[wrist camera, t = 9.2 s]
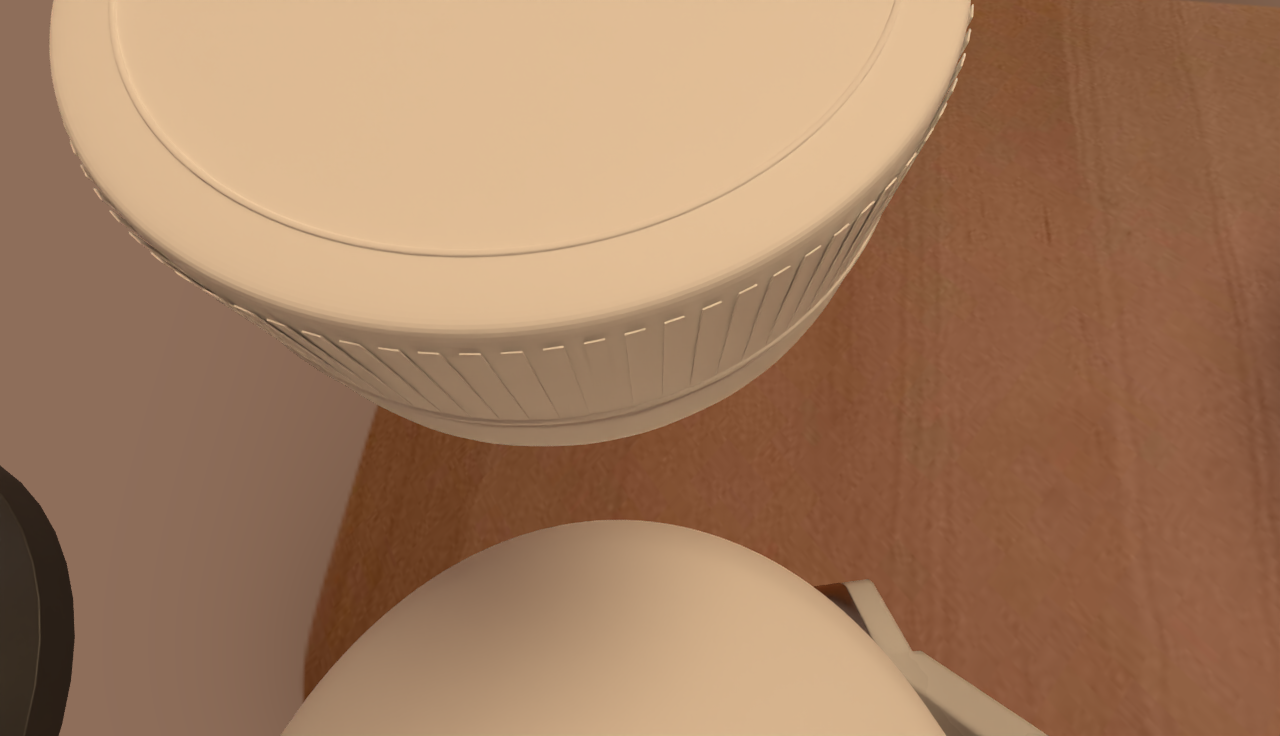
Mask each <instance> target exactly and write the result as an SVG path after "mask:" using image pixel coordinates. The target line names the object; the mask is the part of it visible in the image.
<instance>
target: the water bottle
mask: <svg viewBox="0 0 1280 736" xmlns="http://www.w3.org/2000/svg"><path fill="white" fill-rule="evenodd" d="M970 4H971V0H54V1H53V6H52V13H51V23H50V38H49V40H50V41H49V45H50V47H49V50H50V66H51V74H52V81H53V86H54V91H55V96H56V99H57V103H58V107H59V110H60V114H61V117H62V120H63V123H64V126H65V130H66V131H67V133H68V136H69V138H70V140H71V141H70V144H71V146H72V149H73V151H74V154H75V155H77V156H78V157H79V158H80V160H81V162H82V163H83V165H84V166H83V165H82V164H81V165H80V167H81V168H82V170H83V172H84V174H85V176H86V177H87V178H88V179H89V180H91V181H92V182H94V183H95V184H96V185H97V186H98V188H99V189H100V190H101V192H100V191H99V190H98V189H96V188H93V189H94V191H95V192H96V194H97V195H98V197H99V198H100V200H102V201H103V202H104V203H106V204H107V205H109V206H110V207H112V208H113V209H114V210H116V211H117V212H118V213H119V214H120V215H121V216H122V217H123V218H124V219H123V218H122V217H120V216H119V215H117V214H116V213H114V212H113V211H112V210H110V213H111V214H112V215H113V216H114V217H115V218H116V220H117V221H118V222H119V223H120V224H122V225H124V226H125V227H126V228H128V229H129V230H131V231H133V232H134V233H135V234H137V235H138V236H140V237H141V238H143V239H144V240H146V241H148V242H149V243H150V244H151V245H152V246H153V247H152V246H151V245H149V244H148V243H146V242H145V241H143V240H142V239H140V238H139V237H137V236H136V235H134V234H133V233H131V232H128V233H129V234H130V235H131V236H132V237H133V238H134V239H135V240H136V241H137V242H138V243H140V244H141V245H142V246H144V247H146V248H147V249H148V250H150V251H151V254H152V255H153V256H154V257H156V258H157V259H158V260H159V261H161V262H162V263H163V264H165V265H166V266H168V267H169V268H171V269H172V270H174V271H175V272H176V273H177V274H178V275H180V276H181V277H183V278H184V279H186V280H187V281H189V282H190V283H192V284H193V285H195V286H196V287H198V288H199V289H201V290H203V291H204V292H206V293H207V294H209V295H210V296H212V297H213V298H215V299H216V300H218V301H220V302H221V303H222V304H224V305H226V306H227V307H229V308H230V309H232V310H233V311H235V312H236V313H238V314H239V315H241V316H243V317H244V318H245V319H247V320H249V321H250V322H252V323H253V324H255V325H256V326H258V327H259V328H261V329H262V330H264V331H265V332H267V333H268V334H270V335H271V336H273V337H275V338H276V339H278V340H279V341H280V342H281V343H282V344H284V345H285V346H286V347H287V348H288V349H290V350H291V351H292V352H294V353H295V354H296V355H297V356H299V357H300V358H301V359H303V360H304V361H306V362H307V363H309V364H310V365H312V366H313V367H315V368H316V369H318V370H319V371H321V372H322V373H324V374H326V375H328V376H329V377H331V378H333V379H335V380H336V381H338V382H340V383H342V384H344V385H345V386H347V387H348V388H350V389H352V390H353V391H355V392H356V393H358V394H360V395H362V396H363V397H365V398H367V399H368V400H370V401H372V402H373V403H375V404H377V405H379V406H381V407H383V408H385V409H387V410H389V411H391V412H393V413H395V414H397V415H399V416H402V417H404V418H406V419H408V420H411V421H413V422H415V423H418V424H420V425H423V426H425V427H428V428H431V429H434V430H437V431H440V432H443V433H446V434H450V435H454V436H458V437H463V438H467V439H472V440H477V441H482V442H488V443H494V444H503V445H516V446H569V445H582V444H591V443H598V442H604V441H609V440H614V439H619V438H624V437H628V436H633V435H637V434H640V433H644V432H648V431H651V430H654V429H657V428H660V427H663V426H665V425H668V424H671V423H673V422H676V421H678V420H680V419H683V418H685V417H688V416H690V415H692V414H694V413H697V412H699V411H701V410H703V409H705V408H707V407H709V406H711V405H713V404H715V403H717V402H719V401H721V400H723V399H725V398H726V397H728V396H730V395H732V394H733V393H735V392H736V391H738V390H739V389H741V388H742V387H744V386H745V385H747V384H748V383H750V382H751V381H752V380H754V379H755V378H757V377H758V376H759V375H761V374H762V373H763V372H765V371H766V370H767V369H768V368H770V367H771V366H772V365H773V364H774V363H776V362H777V361H778V360H779V359H780V358H781V357H782V356H783V355H784V354H785V353H786V352H787V351H788V350H789V349H790V348H791V347H792V346H793V345H794V344H795V343H796V342H797V341H798V340H799V339H800V338H801V336H802V335H803V334H804V333H805V332H806V331H807V330H808V328H809V327H810V326H811V325H812V324H813V323H814V321H815V320H816V319H817V318H818V316H819V315H820V314H821V312H822V311H823V310H824V308H825V307H826V306H827V304H828V303H829V301H830V300H831V299H832V297H833V295H834V294H835V292H836V291H837V289H838V288H839V286H840V284H841V283H842V281H843V280H844V278H845V276H846V275H847V274H848V272H849V271H850V270H851V268H852V267H853V265H854V264H855V262H856V261H857V259H858V258H859V256H860V255H861V253H862V252H863V250H864V248H865V246H866V245H867V243H868V241H869V239H870V237H871V236H872V234H873V232H874V230H875V228H876V226H877V223H878V221H879V219H880V217H881V214H882V213H883V211H884V209H885V208H886V206H887V205H888V203H889V201H890V200H891V198H892V196H893V195H894V193H895V191H896V190H897V188H898V186H899V185H900V183H901V182H902V180H903V178H904V177H905V175H906V173H907V172H908V170H909V168H910V167H911V165H912V164H913V162H914V160H915V159H916V157H917V155H918V154H919V152H920V150H921V149H922V147H923V145H924V144H925V142H926V141H927V139H928V137H929V136H930V134H931V132H932V131H933V128H934V127H935V125H936V123H937V122H938V120H939V118H940V117H941V115H942V113H943V111H944V109H945V107H946V105H947V103H946V102H947V100H948V99H949V97H950V95H951V94H952V92H953V90H954V87H955V85H956V82H957V80H958V78H956V76H957V74H958V73H959V71H960V69H961V68H962V66H963V62H964V59H965V55H966V53H964V55H963V56H962V58H961V60H960V61H959V63H958V65H957V67H956V64H957V62H958V60H959V58H960V56H961V54H962V53H963V51H964V49H965V47H966V46H967V44H968V42H969V38H970V33H971V29H969V30H968V32H967V34H966V36H965V33H966V29H967V27H968V25H969V23H970V21H971V19H972V18H973V9H974V5H973V4H972V6H971V8H970ZM955 67H956V68H955ZM955 78H956V79H955ZM954 79H955V81H954ZM953 81H954V83H953ZM952 83H953V85H952ZM951 85H952V86H951ZM950 86H951V88H950ZM949 88H950V90H949ZM948 90H949V91H948ZM947 91H948V93H947ZM946 93H947V95H946ZM945 95H946V96H945ZM944 96H945V98H944ZM943 98H944V100H943ZM942 100H943V101H942ZM941 101H942V103H941ZM940 104H941V105H940ZM155 248H156V249H155ZM154 253H155V254H154ZM157 255H158V256H157ZM160 257H161V258H160ZM163 259H164V260H163ZM166 261H167V262H166ZM169 263H170V264H169ZM172 265H173V266H172ZM175 267H176V268H175ZM178 269H179V270H178ZM181 271H182V272H181ZM184 273H185V274H184ZM187 275H188V276H187ZM190 277H191V278H190ZM193 279H194V280H193ZM196 281H197V282H196ZM199 283H200V284H199ZM202 285H203V286H202ZM205 287H206V288H205ZM208 289H209V290H208ZM211 291H212V292H211ZM280 736H946V735H945V733H944V732H943V730H942V729H941V727H940V726H939V724H938V723H937V721H936V720H935V718H934V717H933V715H932V714H931V712H930V711H929V710H928V708H927V707H926V705H925V704H924V702H923V701H922V700H921V698H920V697H919V695H918V694H917V693H916V691H915V690H914V689H913V687H912V686H911V685H910V683H909V682H908V681H907V679H906V678H905V677H904V675H903V674H902V673H901V672H900V670H899V669H898V668H897V667H896V666H895V664H894V663H893V662H892V661H891V660H890V658H889V657H888V656H887V655H886V654H885V653H884V651H883V650H882V649H881V648H880V647H879V646H878V645H877V644H876V643H875V642H874V640H873V639H872V638H871V637H870V636H869V635H868V634H867V633H866V632H865V631H864V630H863V629H862V628H861V627H860V626H859V625H858V624H857V623H856V622H855V621H854V620H853V619H851V618H850V617H849V616H848V615H847V614H846V613H845V612H844V611H843V610H842V609H840V608H839V607H838V606H837V605H836V604H835V603H833V602H832V601H831V600H830V599H828V598H827V597H826V596H825V595H823V594H822V593H821V592H820V591H818V590H817V589H816V588H814V587H813V586H811V585H810V584H809V583H807V582H806V581H804V580H803V579H801V578H800V577H798V576H797V575H795V574H794V573H792V572H791V571H789V570H788V569H786V568H784V567H783V566H781V565H779V564H777V563H776V562H774V561H772V560H770V559H768V558H766V557H765V556H763V555H761V554H759V553H757V552H754V551H752V550H750V549H748V548H746V547H744V546H741V545H739V544H736V543H734V542H731V541H729V540H726V539H723V538H721V537H718V536H715V535H712V534H708V533H705V532H702V531H698V530H694V529H690V528H686V527H681V526H676V525H671V524H665V523H658V522H649V521H637V520H600V521H587V522H579V523H572V524H566V525H560V526H555V527H550V528H546V529H542V530H538V531H535V532H531V533H528V534H524V535H521V536H518V537H515V538H512V539H510V540H507V541H504V542H502V543H499V544H497V545H494V546H492V547H490V548H487V549H485V550H483V551H481V552H479V553H477V554H474V555H472V556H470V557H468V558H467V559H465V560H463V561H461V562H459V563H457V564H456V565H454V566H452V567H450V568H449V569H447V570H445V571H444V572H442V573H440V574H439V575H437V576H436V577H434V578H432V579H431V580H429V581H428V582H426V583H425V584H424V585H422V586H421V587H419V588H418V589H416V590H415V591H414V592H412V593H411V594H410V595H408V596H407V597H406V598H404V599H403V600H402V601H401V602H399V603H398V604H397V605H396V606H394V607H393V608H392V609H391V610H390V611H388V612H387V613H386V614H385V615H384V616H383V617H381V618H380V619H379V620H378V621H377V622H376V623H375V624H374V625H373V626H371V627H370V628H369V629H368V630H367V631H366V632H365V633H364V634H363V635H362V636H361V637H360V638H359V639H358V640H357V641H356V642H355V643H354V644H353V645H352V646H351V647H350V648H349V649H348V650H347V651H346V652H345V653H344V654H343V656H342V657H341V658H340V659H339V660H338V661H337V662H336V663H335V664H334V666H333V667H332V668H331V669H330V670H329V671H328V672H327V674H326V675H325V676H324V677H323V678H322V680H321V681H320V682H319V683H318V685H317V686H316V687H315V688H314V690H313V691H312V692H311V693H310V695H309V696H308V697H307V699H306V700H305V701H304V703H303V704H302V705H301V707H300V708H299V709H298V711H297V712H296V714H295V715H294V716H293V718H292V719H291V721H290V722H289V723H288V725H287V726H286V728H285V729H284V731H283V732H282V734H281V735H280Z"/></svg>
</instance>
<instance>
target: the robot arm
mask: <svg viewBox="0 0 1280 736" xmlns="http://www.w3.org/2000/svg"><path fill="white" fill-rule="evenodd" d="M814 588H816V589H817V590H818V591H820V592H821V593H822V594H823V595H825V596H826V597H827V598H828V599H830V600H831V601H832V602H833V603H835V604H836V605H837V606H838V607H839V608H840V609H842V610H843V611H844V612H845V613H846V614H847V615H848V616H849V617H850V618H851V619H853V620H854V621H855V622H856V623H857V624H858V625H859V626H860V627H861V628H862V629H863V630H864V631H865V632H866V633H867V634H868V635H869V636H870V637H871V638H872V639H873V640H874V642H875V643H876V644H877V645H878V646H879V647H880V648H881V649H882V650H883V651H884V653H885V654H886V655H887V656H888V657H889V658H890V660H891V661H892V662H893V663H894V664H895V666H896V667H897V668H898V669H899V670H900V672H901V673H902V674H903V675H904V677H905V678H906V679H907V681H908V682H909V683H910V685H911V686H912V687H913V689H914V690H915V691H916V693H917V694H918V695H919V697H920V698H921V700H922V701H923V702H924V704H925V705H926V707H927V708H928V710H929V711H930V712H931V714H932V715H933V717H934V718H935V720H936V721H937V723H938V724H939V726H940V727H941V729H942V730H943V732H944V733H945V735H946V736H1048V735H1047V734H1045V733H1044V732H1042V731H1041V730H1039V729H1038V728H1036V727H1035V726H1033V725H1032V724H1030V723H1029V722H1027V721H1026V720H1024V719H1023V718H1021V717H1020V716H1018V715H1017V714H1015V713H1014V712H1012V711H1011V710H1009V709H1008V708H1006V707H1005V706H1003V705H1002V704H1000V703H999V702H997V701H996V700H994V699H993V698H991V697H990V696H988V695H987V694H985V693H984V692H982V691H981V690H979V689H978V688H976V687H975V686H973V685H972V684H970V683H969V682H967V681H966V680H964V679H963V678H961V677H960V676H958V675H957V674H955V673H954V672H952V671H951V670H949V669H948V668H946V667H945V666H943V665H942V664H940V663H939V662H937V661H936V660H934V659H933V658H931V657H930V656H928V655H927V654H925V653H924V652H922V651H912V650H911V648H910V646H909V645H908V643H907V641H906V639H905V638H904V636H903V634H902V632H901V631H900V629H899V627H898V625H897V624H896V622H895V620H894V618H893V617H892V615H891V613H890V611H889V610H888V608H887V606H886V604H885V603H884V601H883V599H882V597H881V596H880V594H879V592H878V591H877V589H876V587H875V585H874V584H873V582H871V581H870V580H869V579H866V580H859V581H851V582H844V583H835V584H828V585H821V586H814Z"/></svg>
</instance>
